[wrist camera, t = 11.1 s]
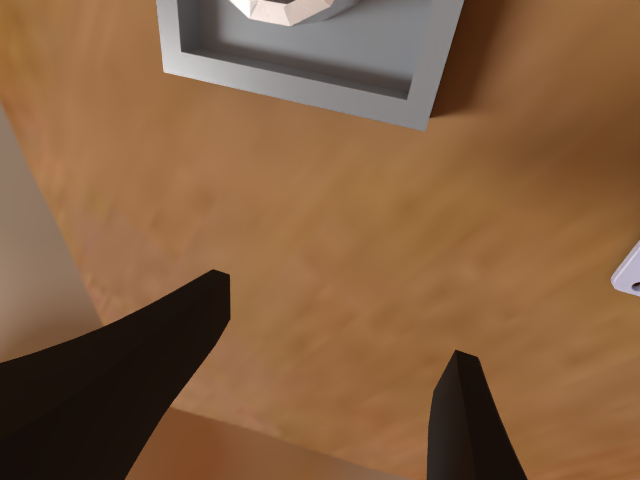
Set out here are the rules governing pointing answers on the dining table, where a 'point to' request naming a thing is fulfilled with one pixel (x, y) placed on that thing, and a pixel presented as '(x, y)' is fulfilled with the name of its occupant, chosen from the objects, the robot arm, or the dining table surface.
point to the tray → (319, 54)
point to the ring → (293, 10)
